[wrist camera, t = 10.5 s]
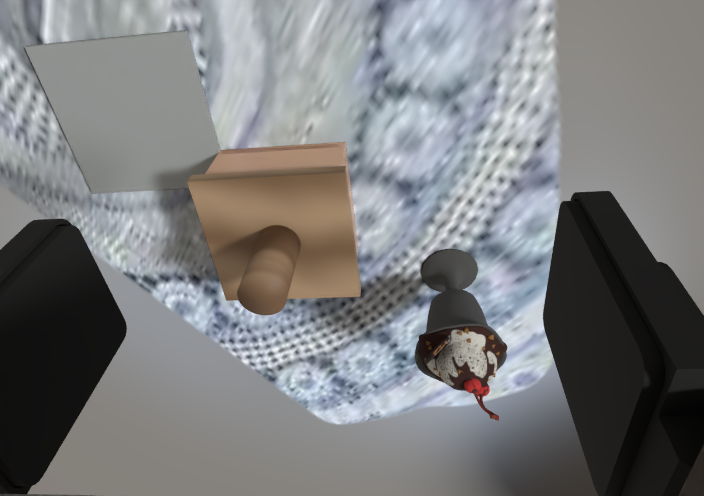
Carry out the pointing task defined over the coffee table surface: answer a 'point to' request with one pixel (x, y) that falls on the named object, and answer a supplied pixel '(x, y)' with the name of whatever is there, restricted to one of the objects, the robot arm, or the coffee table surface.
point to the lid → (279, 234)
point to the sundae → (458, 329)
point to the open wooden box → (284, 161)
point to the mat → (130, 109)
